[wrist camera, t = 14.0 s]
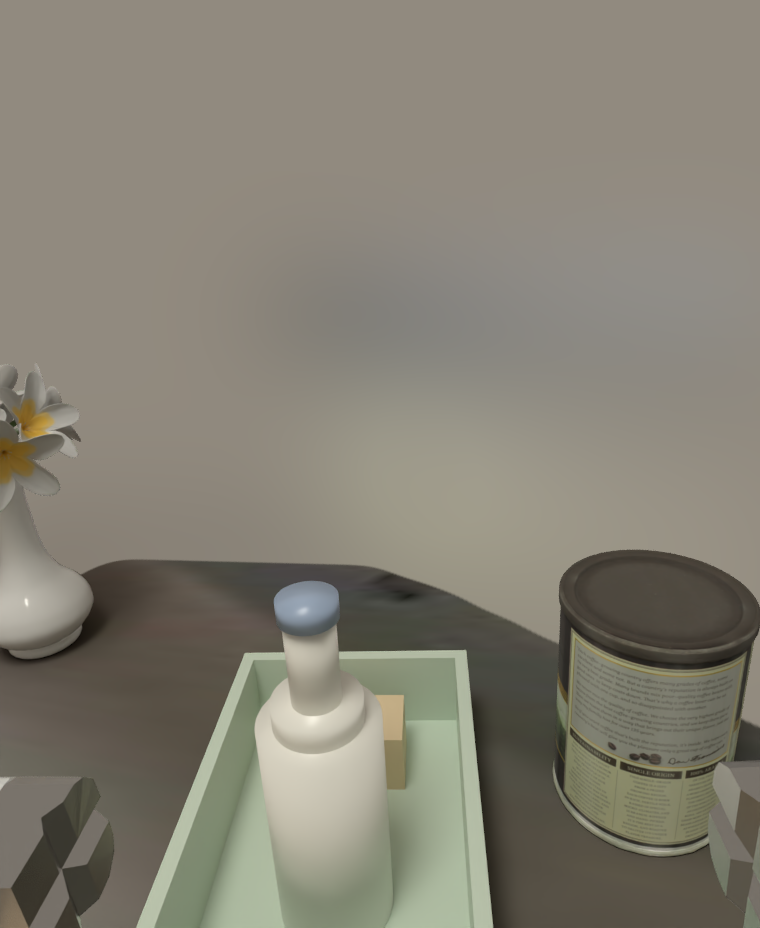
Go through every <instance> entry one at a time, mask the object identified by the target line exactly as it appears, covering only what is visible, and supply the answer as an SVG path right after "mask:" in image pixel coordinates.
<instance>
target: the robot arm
mask: <svg viewBox="0 0 760 928" xmlns="http://www.w3.org/2000/svg"><path fill="white" fill-rule="evenodd" d="M712 785H713V787H714V790H715V792H716V794H717V796H718V798H719V800H720V802H719V803H718V804H717V805H716V806H715V807H714V808H713V809H711V810H710V811H709V821H708V837H709V844H710V851H711V857H712V860H713V864H714V867H715V870H716V874H717V877H718V879H719V881H720V884H721V886H722V889H723V891H724V893H725V896H726V897H727V898H728V899H729V900H730V901H731V902H733V903H734V904H735V905H736V906H737V907H738V908H740V909H741V910H742V911H743V912H744V913H745V921H744V928H760V761H730V762H719V763H718V765H717V766H716V768H715V769H714V776H713V784H712ZM100 797H101V796H100V794H99V791H98V789H97V786H96V784H95V782H94V779H93V778H87V777H29V776H17V777H0V928H82V926H81V920H80V915H82V914H83V913H84V912H85V911H86V910H87V909H88V908H89V907H91V906H92V905H93V904H94V903H95V902H96V901H97V900H98V899H99V898H100V896H101V894H102V891H103V889H104V887H105V885H106V882H107V880H108V878H109V875H110V870H111V865H112V860H113V855H114V839H113V832H112V829H111V826H110V823H109V820H107V819H106V818H105V817H104V816H102V815H101V814H100V813H99V812H98V811H96V810H95V809H94V808H95V806H96V804H97V802H98V800H99V799H100Z"/></svg>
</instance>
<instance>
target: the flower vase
mask: <svg viewBox="0 0 760 928" xmlns="http://www.w3.org/2000/svg"><path fill="white" fill-rule="evenodd" d="M17 378H18V373H17V370H16V368H15V367H14V366H12V365H10V364H4V365H1V366H0V648H3V649H8V650H9V652H10V654H11V655H13V656H15V657H16V658H21V659H37V658H43V657H46V656H49V655H52V654H55V653H57V652H59V651H61V650H63V649H65V648H66V647H68V646H69V645H71V644H72V643H73V642H74V641H75V640H76V639H77V638H78V637H79V635H80V633H81V631H82V623H83V622H84V621H85V620H86V618H87V617H88V615H89V613H90V610H91V608H92V605H93V602H94V598H93V592H92V589H91V587H90V585H89V583H88V582H87V581H86V580H85V579H84V578H83V577H82V576H81V575H80V574H79V573H78V572H76V571H74V570H72V569H70V568H67V567H65V566H63V565H61V564H59V563H58V562H57V561H56V560H55V559H54V558H53V557H51V555H50V554H49V553H48V552H47V550H46V549H45V547H44V545H43V543H42V541H41V539H40V537H39V535H38V532H37V530H36V527H35V524H34V521H33V518H32V515H31V512H30V509H29V506H28V502H27V500H26V496H25V492H24V489H23V487H24V488H25V489H27V490H29V491H31V492H33V493H35V494H39V495H43V496H51V495H55V494H57V492H58V491H59V490H60V484H59V482H58V480H57V478H56V477H55V476H54V475H53V474H52V473H51V472H50V471H49V470H47V469H46V468H44V467H43V466H41V465H40V464H39V463H37V462H36V461H34V460H44V459H47V458H49V457H51V456H53V455H54V454H56V453H57V452H58V451H59V452H61V453H62V454H64V455H66V456H68V457H72V458H76V457H77V456H78V451H77V448H76V447H75V445H74V444H73V442H72V441H71V440H72V438H73V439H75V440H77V441H79V442H80V441H81V440H80V438H79V436H78V434H77V433H76V431H75V430H74V429H73V428H72V426H71V425H72V424H74V423H75V422H76V421H78V419H79V417H80V413H79V411H78V409H77V408H76V407H74V406H72V405H69V404H63V403H62V401H61V396H60V394H59V393H58V391H57V389H56V388H55V387H53V386H51V387H49V388H48V389H47V390H46V389H45V385H44V383H43V379H42V375H41V372H40V370H39V368H38V365H37V364H36V363H35V372H34V371H31V372H29V373H28V374H27V376H26V379H25V385H24V390H22V391H17V392H14V391H13V390H12V389H13V388H14V386H15V384H16V381H17ZM13 418H14V421H13ZM16 425H17V426H18V428H17V429H14V428H13V427H14V426H16ZM53 430H56V431H53ZM18 434H20V438H19V437H18ZM70 439H71V440H70ZM33 459H34V460H33Z"/></svg>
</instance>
